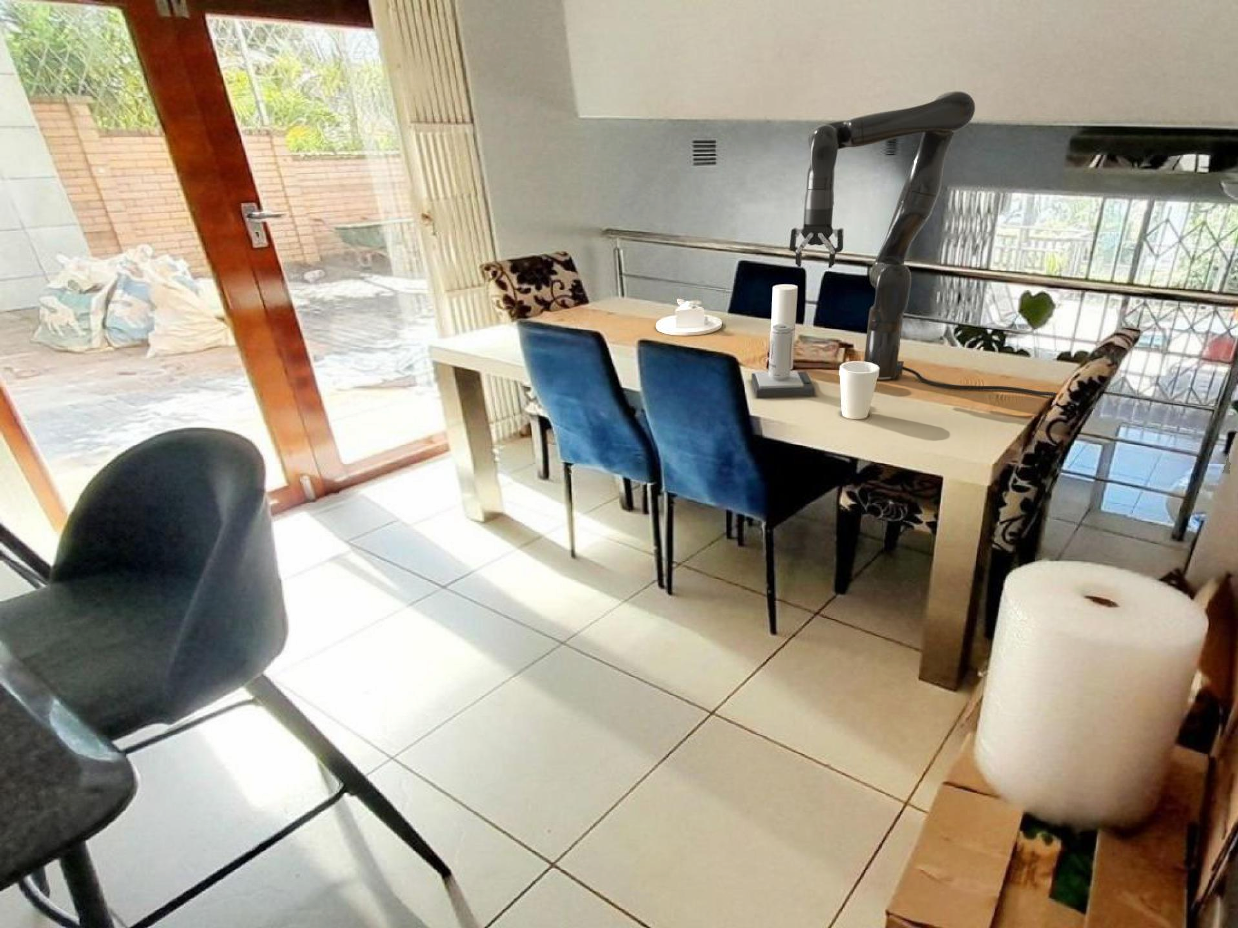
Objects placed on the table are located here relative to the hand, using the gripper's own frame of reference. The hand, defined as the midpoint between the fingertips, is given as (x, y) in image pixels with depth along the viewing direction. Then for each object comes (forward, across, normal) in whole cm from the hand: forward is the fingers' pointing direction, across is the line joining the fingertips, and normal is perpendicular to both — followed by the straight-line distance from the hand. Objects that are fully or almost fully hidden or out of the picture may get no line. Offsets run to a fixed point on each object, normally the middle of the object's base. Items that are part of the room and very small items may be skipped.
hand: (814, 267), depth 198 cm
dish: (+32, -52, +43) cm, 75 cm away
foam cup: (+32, +17, -27) cm, 45 cm away
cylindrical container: (+32, -9, +5) cm, 34 cm away
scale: (+32, -5, -13) cm, 35 cm away
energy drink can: (+29, -6, -13) cm, 32 cm away
